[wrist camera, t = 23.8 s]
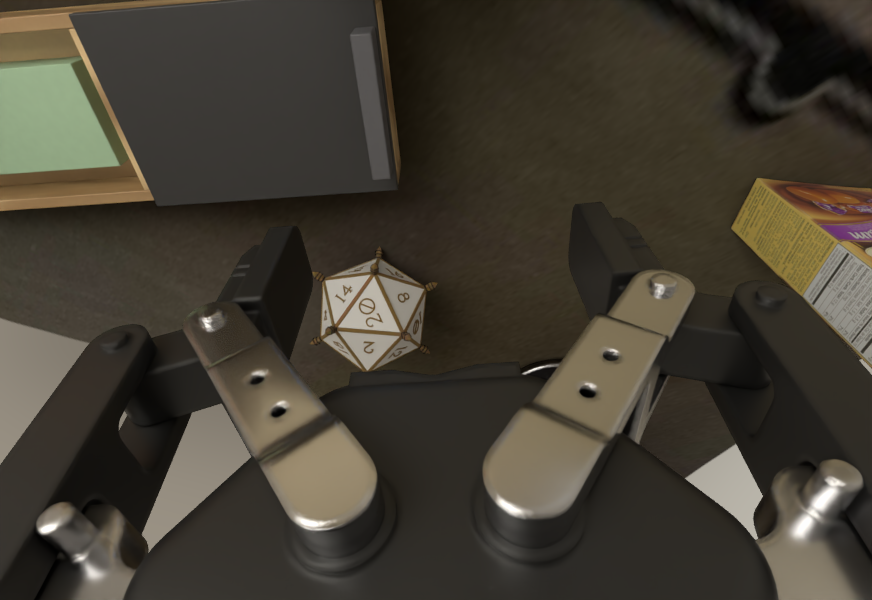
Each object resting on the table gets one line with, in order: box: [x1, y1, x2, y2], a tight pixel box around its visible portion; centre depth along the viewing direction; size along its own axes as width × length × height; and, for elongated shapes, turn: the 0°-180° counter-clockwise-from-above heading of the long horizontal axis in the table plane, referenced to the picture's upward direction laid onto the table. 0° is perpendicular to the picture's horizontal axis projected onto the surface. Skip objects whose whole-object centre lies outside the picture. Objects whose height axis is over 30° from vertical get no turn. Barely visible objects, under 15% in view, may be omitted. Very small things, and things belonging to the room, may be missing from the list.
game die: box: [310, 247, 437, 372], centre depth 34 cm, size 9×8×10 cm
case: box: [0, 0, 401, 211], centre depth 28 cm, size 10×29×3 cm, turn 94°
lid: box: [69, 0, 398, 206], centre depth 25 cm, size 10×14×2 cm
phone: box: [0, 56, 129, 175], centre depth 28 cm, size 6×11×2 cm, turn 94°
